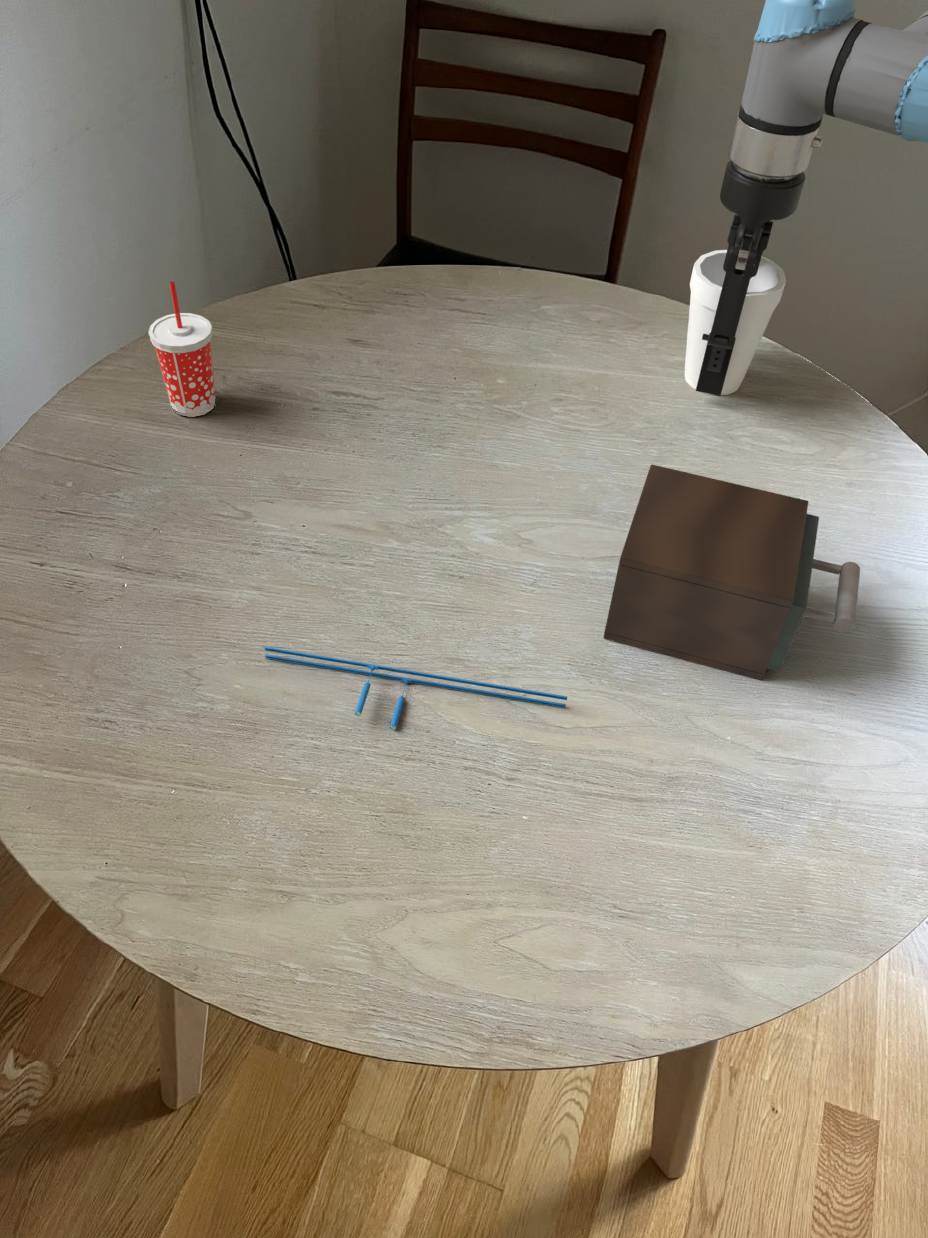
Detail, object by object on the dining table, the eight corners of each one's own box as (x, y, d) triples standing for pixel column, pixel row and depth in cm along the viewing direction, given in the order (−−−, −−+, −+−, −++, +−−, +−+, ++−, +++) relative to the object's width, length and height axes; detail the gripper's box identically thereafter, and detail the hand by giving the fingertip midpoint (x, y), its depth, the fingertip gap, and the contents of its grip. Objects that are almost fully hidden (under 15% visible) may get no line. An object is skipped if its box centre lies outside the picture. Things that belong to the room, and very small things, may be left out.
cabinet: (778, 580, 95) (808, 500, 88) (761, 680, 87) (793, 600, 80) (633, 544, 97) (651, 463, 90) (603, 638, 89) (620, 557, 82)
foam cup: (655, 363, 118) (677, 256, 109) (724, 349, 121) (751, 243, 112) (699, 410, 112) (726, 302, 103) (770, 394, 115) (804, 286, 106)
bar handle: (560, 746, 79) (567, 695, 83) (244, 692, 81) (264, 645, 85) (558, 757, 80) (565, 707, 84) (245, 704, 82) (266, 657, 86)
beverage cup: (230, 391, 111) (213, 269, 101) (213, 425, 107) (193, 302, 97) (174, 384, 112) (151, 263, 101) (155, 418, 107) (129, 295, 97)
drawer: (843, 593, 93) (872, 528, 87) (833, 686, 85) (864, 622, 80) (657, 547, 96) (673, 482, 90) (632, 633, 88) (648, 567, 83)
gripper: (795, 222, 91) (735, 430, 108) (817, 128, 106) (761, 324, 122) (710, 207, 93) (664, 414, 109) (743, 116, 107) (698, 311, 124)
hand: (715, 367), depth 116 cm, fingers closed on foam cup, 9 cm apart
